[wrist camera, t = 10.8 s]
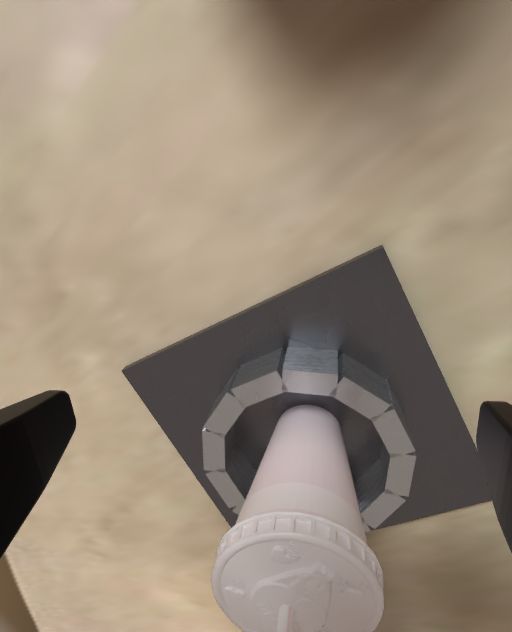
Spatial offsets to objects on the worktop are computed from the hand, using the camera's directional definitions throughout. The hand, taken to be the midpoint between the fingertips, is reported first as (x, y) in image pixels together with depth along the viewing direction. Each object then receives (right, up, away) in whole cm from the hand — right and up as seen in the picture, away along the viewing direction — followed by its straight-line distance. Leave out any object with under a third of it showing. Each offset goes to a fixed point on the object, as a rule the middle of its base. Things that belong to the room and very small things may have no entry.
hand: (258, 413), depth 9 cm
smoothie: (+3, -4, +15) cm, 16 cm away
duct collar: (+3, -4, +15) cm, 16 cm away
